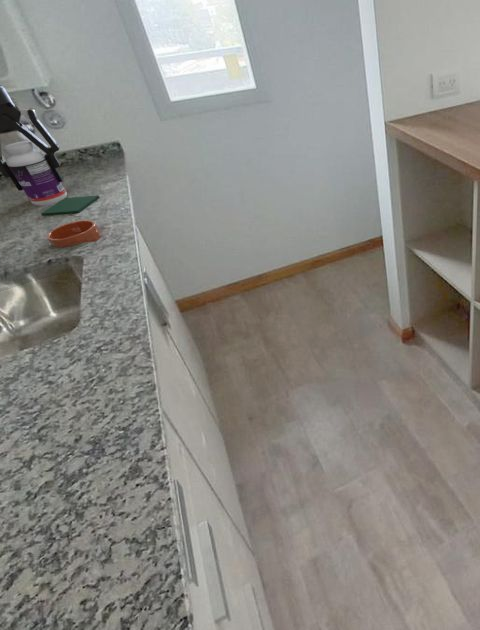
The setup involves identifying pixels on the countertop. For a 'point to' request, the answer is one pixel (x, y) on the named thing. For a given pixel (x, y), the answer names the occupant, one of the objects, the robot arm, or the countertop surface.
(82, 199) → the mat
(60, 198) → the pill bottle
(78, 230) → the bowl
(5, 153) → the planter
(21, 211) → the countertop surface
